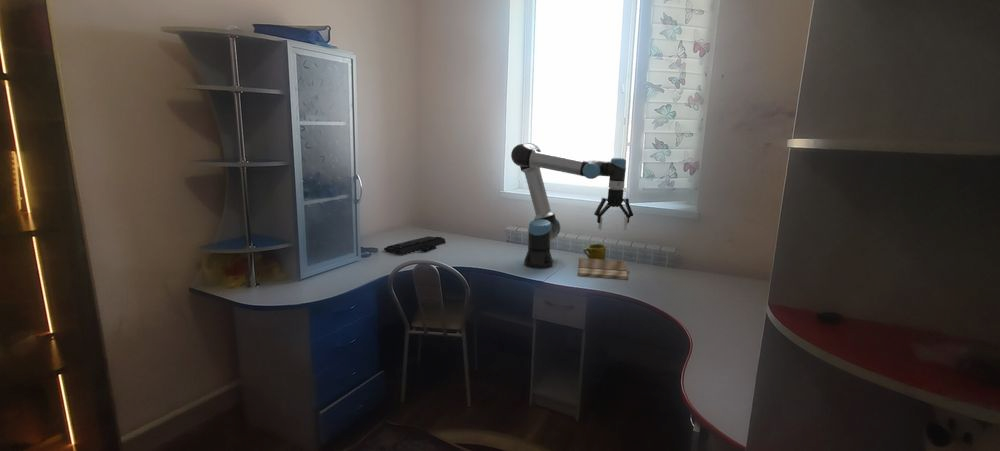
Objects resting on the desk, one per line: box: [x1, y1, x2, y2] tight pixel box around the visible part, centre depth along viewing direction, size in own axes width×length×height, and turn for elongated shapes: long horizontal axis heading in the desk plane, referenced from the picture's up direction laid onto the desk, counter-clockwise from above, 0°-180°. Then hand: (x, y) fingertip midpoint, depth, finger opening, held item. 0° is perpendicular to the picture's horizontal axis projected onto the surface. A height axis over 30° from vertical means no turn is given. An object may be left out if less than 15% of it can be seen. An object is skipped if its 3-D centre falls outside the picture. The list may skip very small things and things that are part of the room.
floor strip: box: [577, 267, 628, 280], centre depth 239 cm, size 24×9×2 cm, turn 79°
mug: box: [582, 243, 606, 260], centre depth 264 cm, size 12×10×10 cm
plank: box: [577, 257, 627, 272], centre depth 246 cm, size 24×7×2 cm, turn 79°
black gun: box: [383, 235, 446, 256], centre depth 283 cm, size 37×22×5 cm, turn 145°
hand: (612, 229), depth 248 cm, fingers open, 13 cm apart
